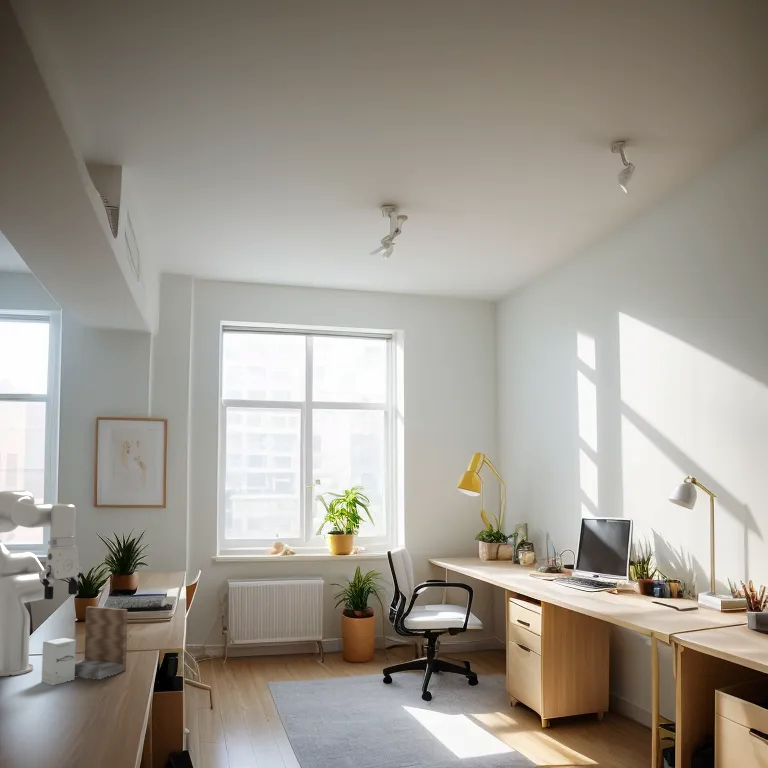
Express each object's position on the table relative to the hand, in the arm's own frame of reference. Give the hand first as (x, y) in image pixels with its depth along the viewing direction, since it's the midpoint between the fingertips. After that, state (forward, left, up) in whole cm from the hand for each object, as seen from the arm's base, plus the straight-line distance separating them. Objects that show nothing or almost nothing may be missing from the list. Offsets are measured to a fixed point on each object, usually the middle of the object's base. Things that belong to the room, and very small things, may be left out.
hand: (60, 596), depth 245 cm
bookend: (+3, +11, -26) cm, 29 cm away
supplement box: (0, 0, -26) cm, 26 cm away
